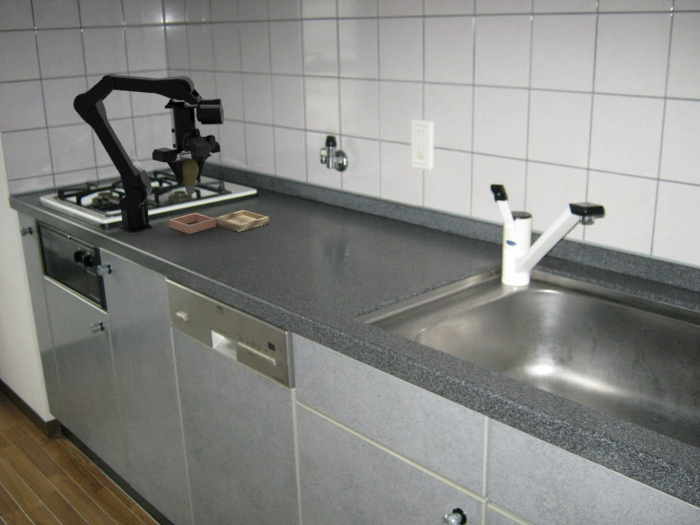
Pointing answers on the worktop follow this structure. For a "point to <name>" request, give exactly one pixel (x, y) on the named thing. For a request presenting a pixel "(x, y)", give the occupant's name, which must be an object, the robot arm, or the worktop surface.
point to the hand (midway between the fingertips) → (189, 181)
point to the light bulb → (189, 175)
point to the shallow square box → (182, 224)
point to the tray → (241, 220)
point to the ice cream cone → (135, 161)
